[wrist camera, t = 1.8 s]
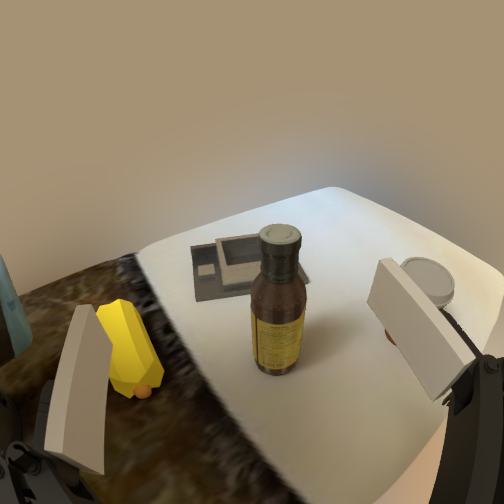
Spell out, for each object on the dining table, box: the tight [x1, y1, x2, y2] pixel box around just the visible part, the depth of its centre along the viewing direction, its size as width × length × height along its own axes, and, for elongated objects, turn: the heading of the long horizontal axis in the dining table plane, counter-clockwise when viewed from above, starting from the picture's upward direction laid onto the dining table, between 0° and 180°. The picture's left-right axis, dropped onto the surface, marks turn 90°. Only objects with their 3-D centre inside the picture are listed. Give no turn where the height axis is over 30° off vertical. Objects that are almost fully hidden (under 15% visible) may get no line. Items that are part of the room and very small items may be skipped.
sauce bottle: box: [251, 224, 307, 375], centre depth 31 cm, size 6×6×20 cm
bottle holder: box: [190, 233, 308, 302], centre depth 51 cm, size 20×12×5 cm, turn 102°
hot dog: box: [96, 299, 164, 399], centre depth 35 cm, size 18×7×8 cm
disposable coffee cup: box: [385, 257, 454, 346], centre depth 35 cm, size 10×10×12 cm
